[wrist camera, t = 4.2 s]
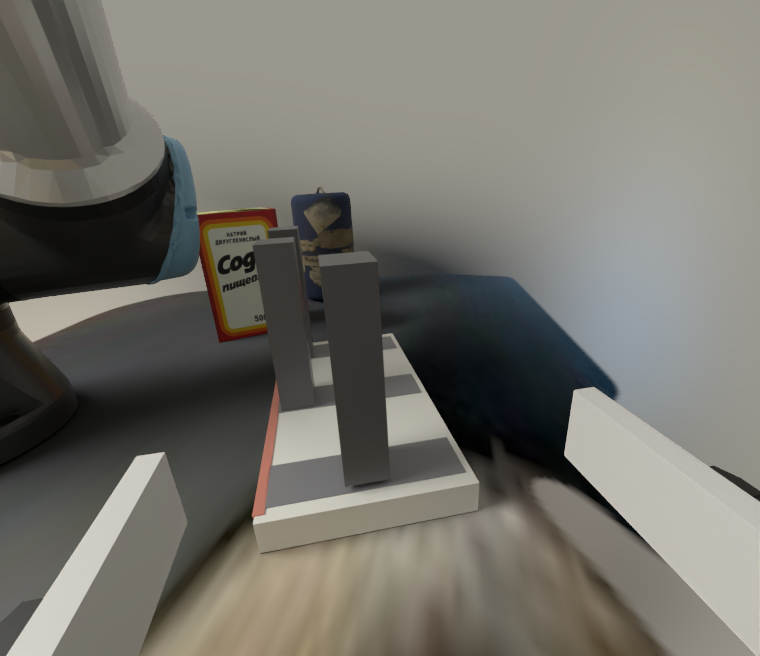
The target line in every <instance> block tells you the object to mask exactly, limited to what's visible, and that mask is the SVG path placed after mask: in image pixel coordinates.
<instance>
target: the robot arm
mask: <svg viewBox="0 0 760 656" xmlns="http://www.w3.org/2000/svg"><path fill="white" fill-rule="evenodd" d="M196 210H197V206H196V193H195V187H194V181H193V176H192V172H191V167H190V164H189V161H188V158H187V155H186V152H185V149H184V147H183V146H182V144H181V143H180V142H179V141H178V140H175V139H172V138H168V137H166V136H164V135H162V132H161V129H160V128H159V126H158V124H157V122H156V120H155V119H154V118H153V116H152V115H151V114H150V113H149V112H148V111H147V110H146V109H145V108H144V107H143V106H141V105H140V104H139V103H137V102H136V101H134V100H133V99H131V98H130V97H128V95H127V92H126V88H125V84H124V81H123V77H122V74H121V70H120V67H119V63H118V59H117V56H116V53H115V49H114V45H113V42H112V38H111V34H110V30H109V27H108V24H107V20H106V16H105V12H104V9H103V5H102V2H101V0H0V465H1V464H3V463H5V462H7V461H9V460H11V459H13V458H14V457H16V456H18V455H20V454H22V453H24V452H25V451H27V450H29V449H30V448H32V447H34V446H35V445H37V444H39V443H40V442H42V441H43V440H45V439H46V438H48V437H49V436H50V435H52V434H53V433H54V432H56V431H57V430H58V429H59V428H61V427H62V426H63V425H64V424H65V423H66V422H67V421H68V420H69V419H70V418H71V417H72V415H73V414H74V412H75V411H76V409H77V405H78V401H77V398H76V396H75V393H74V391H73V388H72V386H71V383H70V381H69V380H68V378H67V377H66V376H65V375H64V374H63V373H62V372H61V371H60V370H59V369H58V368H57V367H56V366H55V365H54V364H53V363H52V362H51V361H50V360H49V359H48V358H47V357H46V356H45V355H44V354H43V353H42V352H41V351H40V350H39V349H38V348H37V347H36V346H35V345H34V344H33V343H32V342H31V341H30V340H29V339H28V338H27V337H26V336H25V334H24V333H23V332H22V331H21V330H20V328H19V326H18V324H17V322H16V320H15V317H14V315H13V313H12V311H11V308H10V306H9V302H15V301H23V300H28V299H34V298H42V297H48V296H57V295H64V294H72V293H80V292H87V291H95V290H102V289H110V288H118V287H126V286H133V285H141V284H147V285H148V284H155V283H157V282H159V281H161V280H166V279H171V278H176V277H181V276H184V275H187V274H189V273H190V272H191V271H192V270H193V269H194V268H195V266H196V264H197V262H198V258H199V249H200V231H199V219H198V216H197V213H196ZM564 456H565V457H566V458H567V459H568V460H569V461H570V462H571V463H572V464H573V465H574V466H575V467H576V468H577V469H578V470H579V471H580V472H581V474H582V475H583V476H584V477H585V478H586V479H587V480H588V481H589V482H590V483H591V484H592V485H593V486H594V487H595V488H596V489H597V490H598V491H599V492H600V493H601V494H602V495H603V496H604V498H605V499H606V500H607V501H608V502H609V503H610V504H611V505H612V506H613V507H614V508H615V509H616V510H617V511H618V512H619V513H620V514H621V515H622V516H623V517H624V518H625V519H626V520H627V522H628V523H629V524H630V525H631V526H632V527H633V528H634V529H635V530H636V531H637V532H638V533H639V534H640V535H641V536H642V537H643V538H644V539H645V540H646V541H647V542H648V543H649V545H650V546H651V547H652V548H653V549H654V550H655V551H656V552H657V553H658V554H659V555H660V556H661V557H662V558H663V559H664V560H665V561H666V562H667V563H668V564H669V565H670V566H671V567H672V569H673V570H674V571H675V572H676V573H677V574H678V575H679V576H680V577H681V578H682V579H683V580H684V581H685V582H686V583H687V584H688V585H689V586H690V587H691V588H692V589H693V590H694V591H695V593H696V594H697V595H698V596H699V597H700V598H701V599H702V600H703V601H704V602H705V603H706V604H707V605H708V606H709V607H710V608H711V609H712V610H713V611H714V612H715V613H716V614H717V615H718V617H719V618H720V619H722V621H723V622H724V623H725V624H726V625H727V626H728V627H729V628H730V629H731V630H732V631H733V632H734V633H735V634H736V635H737V636H738V637H739V638H740V639H741V640H742V641H743V643H744V644H745V645H746V646H747V647H748V648H749V649H750V650H751V651H752V652H753V653H754V654H755V655H756V656H760V491H759V490H757V489H756V488H754V487H753V486H752V485H750V484H749V483H747V482H745V481H744V480H743V479H741V478H739V477H737V476H735V475H733V474H731V473H728V472H726V471H724V470H722V469H720V468H718V467H715V466H710V467H709V466H707V465H706V464H704V463H703V462H701V461H700V460H699V459H697V458H696V457H694V456H693V455H691V454H690V453H688V452H687V451H686V450H684V449H683V448H681V447H680V446H678V445H677V444H676V443H674V442H672V441H671V440H670V439H668V438H667V437H665V436H664V435H662V434H661V433H660V432H658V431H657V430H655V429H654V428H652V427H651V426H650V425H648V424H647V423H645V422H644V421H642V420H641V419H639V418H638V417H637V416H635V415H634V414H632V413H631V412H629V411H628V410H626V409H625V408H624V407H622V406H621V405H619V404H618V403H616V402H615V401H613V400H612V399H611V398H609V397H608V396H606V395H605V394H603V393H602V392H601V391H599V390H598V389H596V388H595V387H591V388H584V389H577V390H574V392H573V399H572V406H571V412H570V419H569V426H568V432H567V439H566V445H565V452H564ZM187 523H188V522H187V519H186V516H185V513H184V510H183V507H182V504H181V501H180V498H179V494H178V491H177V488H176V485H175V482H174V479H173V476H172V473H171V470H170V467H169V464H168V460H167V457H166V454H165V452H161V453H155V454H148V455H141V456H136V458H135V459H134V461H133V462H132V464H131V465H130V467H129V468H128V470H127V471H126V473H125V475H124V476H123V478H122V479H121V481H120V482H119V484H118V485H117V487H116V488H115V490H114V491H113V493H112V494H111V496H110V497H109V499H108V501H107V502H106V504H105V505H104V507H103V508H102V510H101V511H100V513H99V514H98V516H97V517H96V519H95V520H94V522H93V523H92V525H91V527H90V528H89V530H88V531H87V533H86V534H85V536H84V537H83V539H82V540H81V542H80V543H79V545H78V546H77V548H76V549H75V551H74V553H73V554H72V556H71V557H70V559H69V560H68V562H67V563H66V565H65V566H64V568H63V569H62V571H61V572H60V574H59V576H58V577H57V579H56V580H55V582H54V583H53V585H52V586H51V588H50V589H49V591H48V592H47V594H46V595H45V597H44V598H41V599H36V600H31V601H26V602H22V603H21V604H20V605H19V606H18V607H17V608H16V609H14V610H13V611H12V612H11V613H10V614H9V615H8V616H7V617H6V618H5V619H4V620H3V621H2V622H1V623H0V656H138V655H139V653H140V650H141V647H142V645H143V642H144V639H145V636H146V634H147V631H148V628H149V626H150V623H151V620H152V617H153V615H154V612H155V609H156V607H157V604H158V601H159V598H160V596H161V593H162V590H163V588H164V585H165V582H166V580H167V577H168V574H169V571H170V569H171V566H172V563H173V561H174V558H175V555H176V552H177V550H178V547H179V544H180V542H181V539H182V536H183V533H184V531H185V528H186V525H187Z"/></svg>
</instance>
